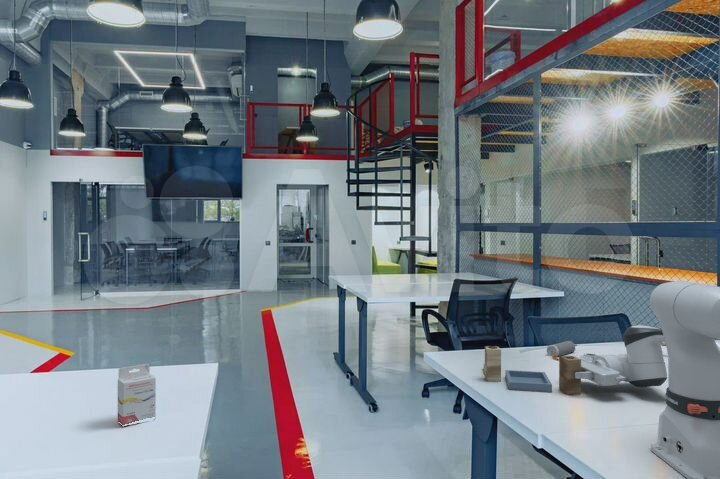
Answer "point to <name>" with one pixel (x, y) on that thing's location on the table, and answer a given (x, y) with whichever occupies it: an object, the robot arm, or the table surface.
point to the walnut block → (569, 375)
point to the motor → (560, 349)
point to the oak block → (492, 364)
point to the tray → (528, 381)
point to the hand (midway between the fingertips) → (567, 372)
